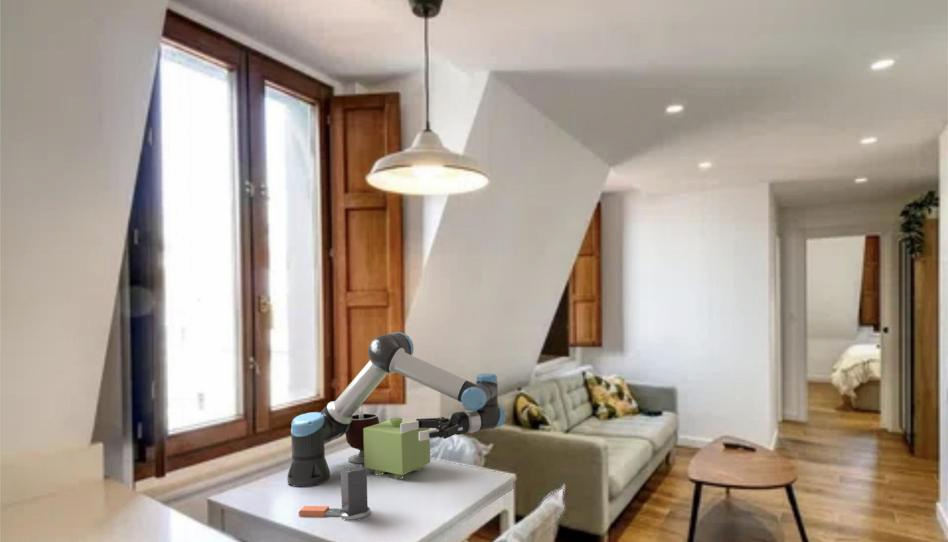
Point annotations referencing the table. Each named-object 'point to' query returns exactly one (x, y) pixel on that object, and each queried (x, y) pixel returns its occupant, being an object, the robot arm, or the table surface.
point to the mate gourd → (359, 433)
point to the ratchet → (330, 512)
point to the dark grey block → (354, 489)
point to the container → (394, 448)
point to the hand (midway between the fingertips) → (409, 432)
